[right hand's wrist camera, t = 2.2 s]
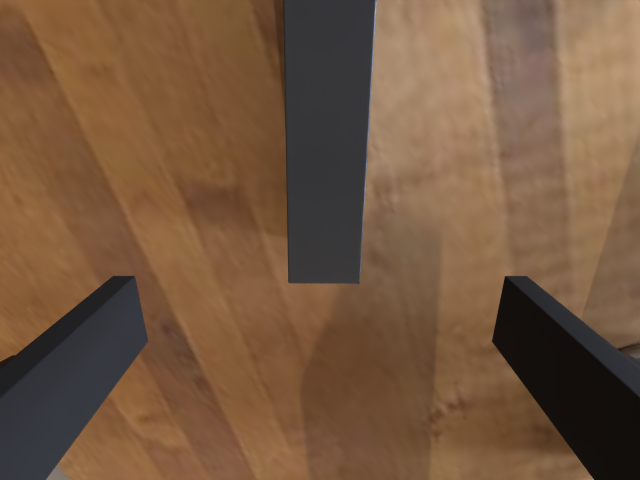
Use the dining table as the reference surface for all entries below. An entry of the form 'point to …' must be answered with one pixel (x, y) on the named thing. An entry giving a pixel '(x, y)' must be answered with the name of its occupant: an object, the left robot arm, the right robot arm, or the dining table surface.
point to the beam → (327, 135)
